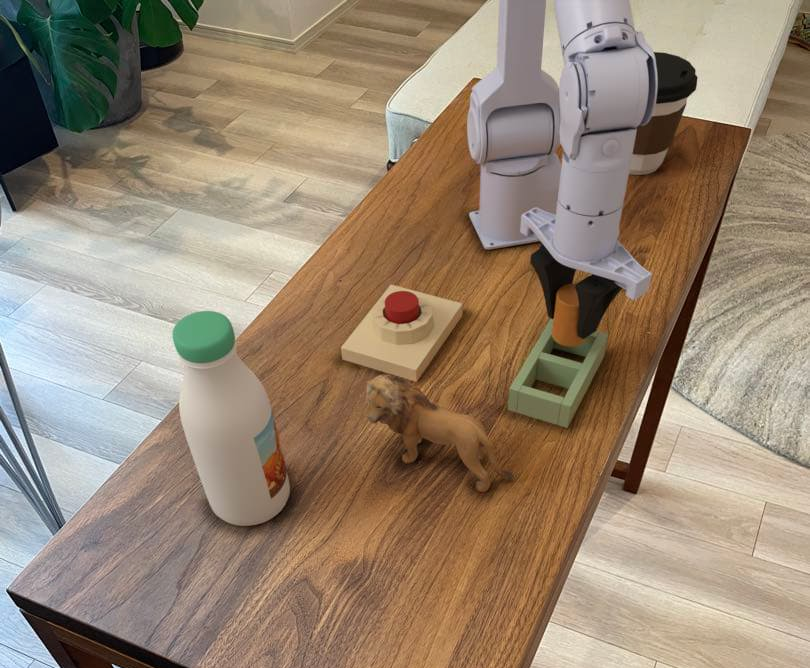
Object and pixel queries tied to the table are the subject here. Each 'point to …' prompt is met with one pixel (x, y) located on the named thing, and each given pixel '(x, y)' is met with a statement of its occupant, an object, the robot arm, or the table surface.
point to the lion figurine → (429, 424)
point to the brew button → (401, 307)
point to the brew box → (402, 336)
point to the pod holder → (556, 378)
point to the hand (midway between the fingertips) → (572, 323)
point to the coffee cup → (663, 113)
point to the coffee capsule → (566, 317)
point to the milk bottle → (228, 423)
